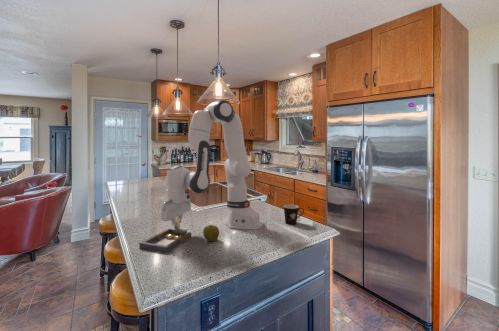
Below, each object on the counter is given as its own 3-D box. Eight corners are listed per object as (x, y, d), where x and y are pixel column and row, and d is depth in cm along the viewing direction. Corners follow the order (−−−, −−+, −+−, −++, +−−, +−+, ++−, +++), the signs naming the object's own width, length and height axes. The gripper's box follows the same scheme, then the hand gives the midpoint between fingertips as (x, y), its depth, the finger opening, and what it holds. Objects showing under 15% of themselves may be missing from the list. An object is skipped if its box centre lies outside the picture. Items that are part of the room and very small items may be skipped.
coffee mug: (282, 225, 152) (282, 208, 151) (284, 220, 160) (284, 204, 159) (303, 226, 149) (303, 209, 148) (303, 221, 157) (304, 205, 156)
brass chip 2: (184, 238, 133) (184, 234, 133) (179, 241, 129) (179, 238, 129) (177, 236, 135) (177, 233, 134) (172, 240, 131) (172, 236, 130)
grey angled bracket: (180, 244, 125) (180, 239, 124) (166, 253, 115) (166, 247, 115) (154, 240, 130) (154, 235, 130) (139, 248, 121) (139, 242, 120)
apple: (211, 236, 135) (211, 222, 134) (222, 240, 130) (222, 226, 129) (200, 240, 129) (199, 226, 128) (211, 244, 124) (210, 230, 123)
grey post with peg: (187, 235, 135) (185, 218, 133) (185, 236, 133) (183, 220, 131) (171, 232, 138) (169, 216, 137) (168, 234, 137) (167, 217, 135)
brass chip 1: (176, 236, 135) (176, 233, 135) (171, 239, 131) (171, 236, 131) (169, 235, 136) (169, 232, 136) (164, 238, 132) (164, 235, 132)
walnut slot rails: (191, 237, 134) (191, 232, 133) (180, 244, 125) (180, 238, 125) (167, 233, 139) (166, 229, 138) (155, 239, 130) (155, 234, 130)
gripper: (168, 203, 122) (169, 231, 124) (192, 194, 141) (193, 219, 143) (157, 202, 125) (158, 230, 126) (182, 193, 144) (183, 218, 145)
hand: (177, 224), depth 135 cm, fingers closed on grey post with peg, 2 cm apart
